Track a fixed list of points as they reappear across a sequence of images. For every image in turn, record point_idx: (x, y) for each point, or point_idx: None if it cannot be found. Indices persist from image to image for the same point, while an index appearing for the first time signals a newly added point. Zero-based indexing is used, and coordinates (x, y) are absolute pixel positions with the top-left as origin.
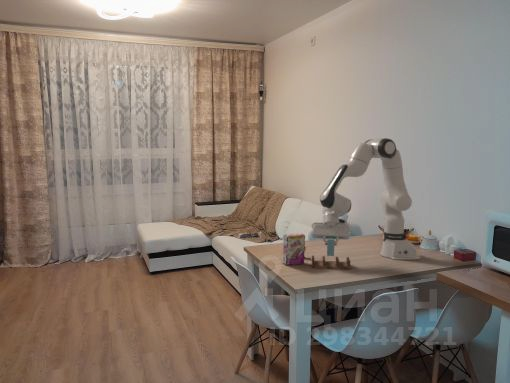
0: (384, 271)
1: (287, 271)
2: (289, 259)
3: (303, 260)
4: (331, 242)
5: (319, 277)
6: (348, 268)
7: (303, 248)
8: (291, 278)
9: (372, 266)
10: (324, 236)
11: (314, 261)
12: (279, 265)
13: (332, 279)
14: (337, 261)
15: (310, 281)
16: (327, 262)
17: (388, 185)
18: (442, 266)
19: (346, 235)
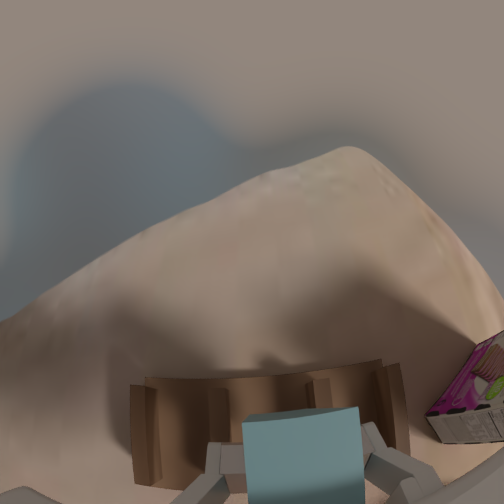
0: (18, 358)
1: (448, 271)
2: (489, 344)
3: (436, 411)
4: (290, 415)
5: (312, 228)
6: (156, 378)
7: (489, 399)
8: (404, 203)
9: (43, 434)
10: (422, 492)
11: None
12: None
13: (253, 217)
14: (220, 388)
15: (335, 186)
16: None
17: None
18: None
19: (35, 502)
